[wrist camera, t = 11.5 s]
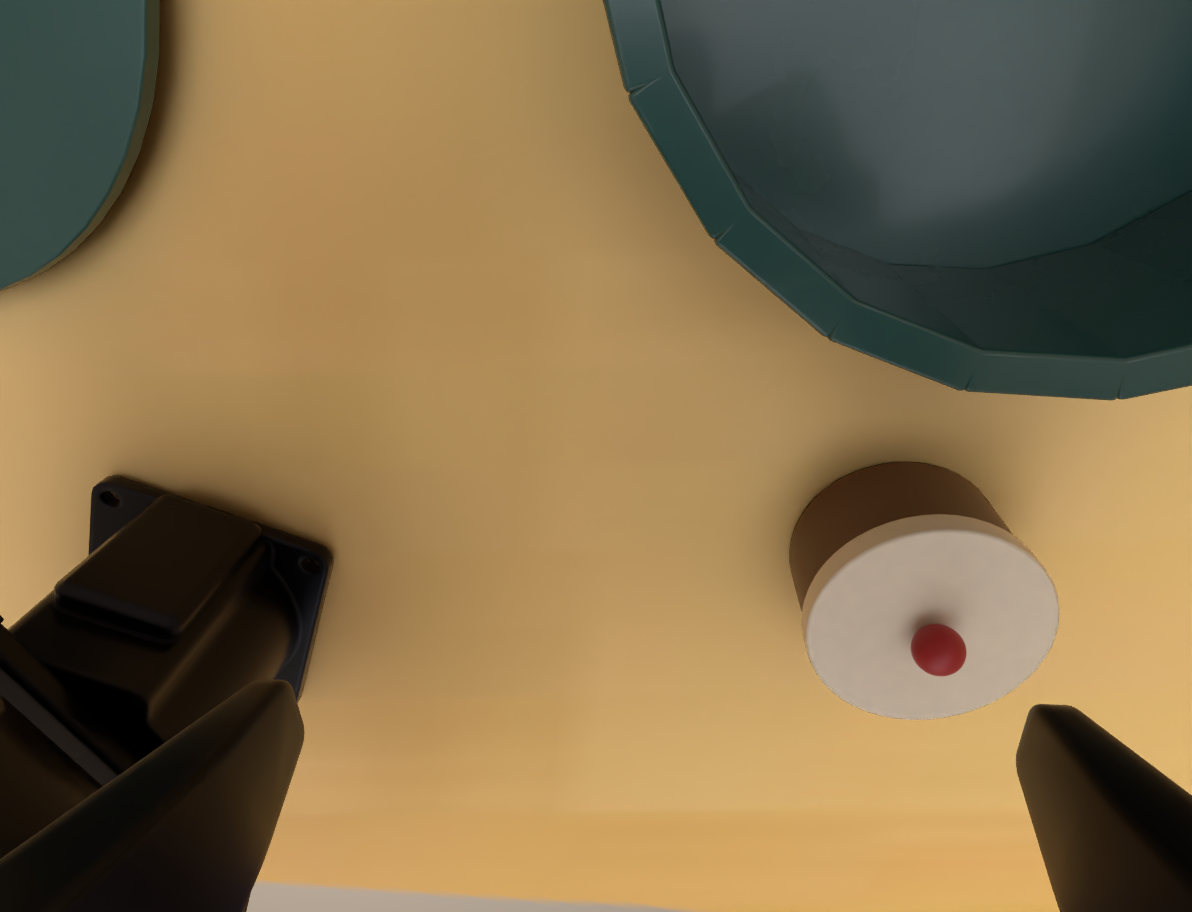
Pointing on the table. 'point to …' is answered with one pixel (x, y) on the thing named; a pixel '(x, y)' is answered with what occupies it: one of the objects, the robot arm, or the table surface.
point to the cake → (918, 594)
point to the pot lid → (68, 120)
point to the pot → (942, 175)
